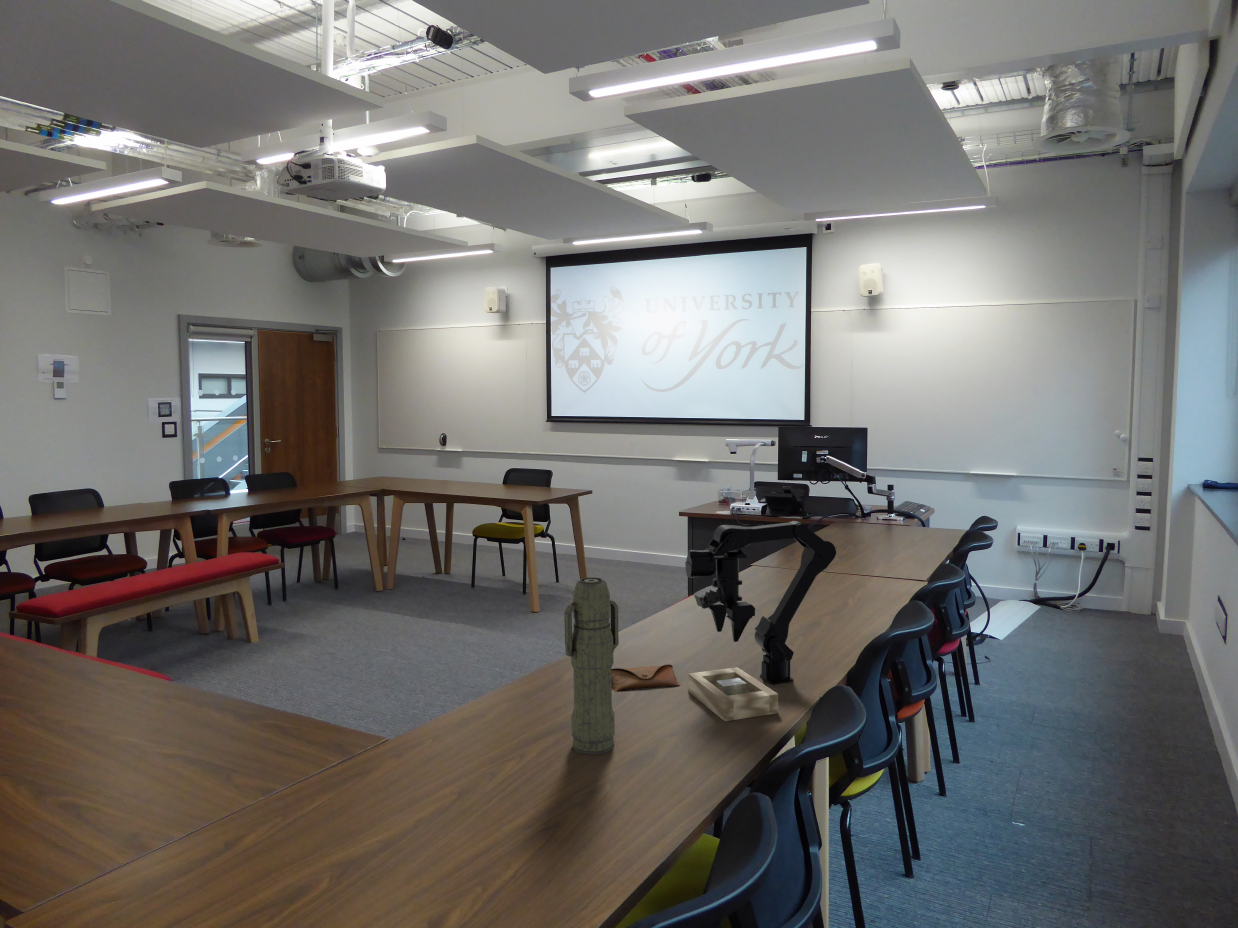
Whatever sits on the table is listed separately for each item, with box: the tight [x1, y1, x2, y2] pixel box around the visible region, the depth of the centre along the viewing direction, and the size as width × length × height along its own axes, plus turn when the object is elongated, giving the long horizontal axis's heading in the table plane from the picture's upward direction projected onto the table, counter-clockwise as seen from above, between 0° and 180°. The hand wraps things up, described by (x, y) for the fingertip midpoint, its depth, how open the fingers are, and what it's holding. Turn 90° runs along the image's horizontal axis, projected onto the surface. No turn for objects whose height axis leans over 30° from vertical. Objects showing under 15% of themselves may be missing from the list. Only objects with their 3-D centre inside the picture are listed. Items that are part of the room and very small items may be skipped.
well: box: [687, 666, 779, 722], centre depth 189 cm, size 14×20×4 cm
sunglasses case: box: [611, 664, 681, 693], centre depth 203 cm, size 18×7×7 cm
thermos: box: [563, 577, 620, 756], centre depth 165 cm, size 9×12×35 cm
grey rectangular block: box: [716, 678, 747, 696], centre depth 189 cm, size 6×4×4 cm, turn 109°
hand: (727, 636), depth 202 cm, fingers open, 9 cm apart
